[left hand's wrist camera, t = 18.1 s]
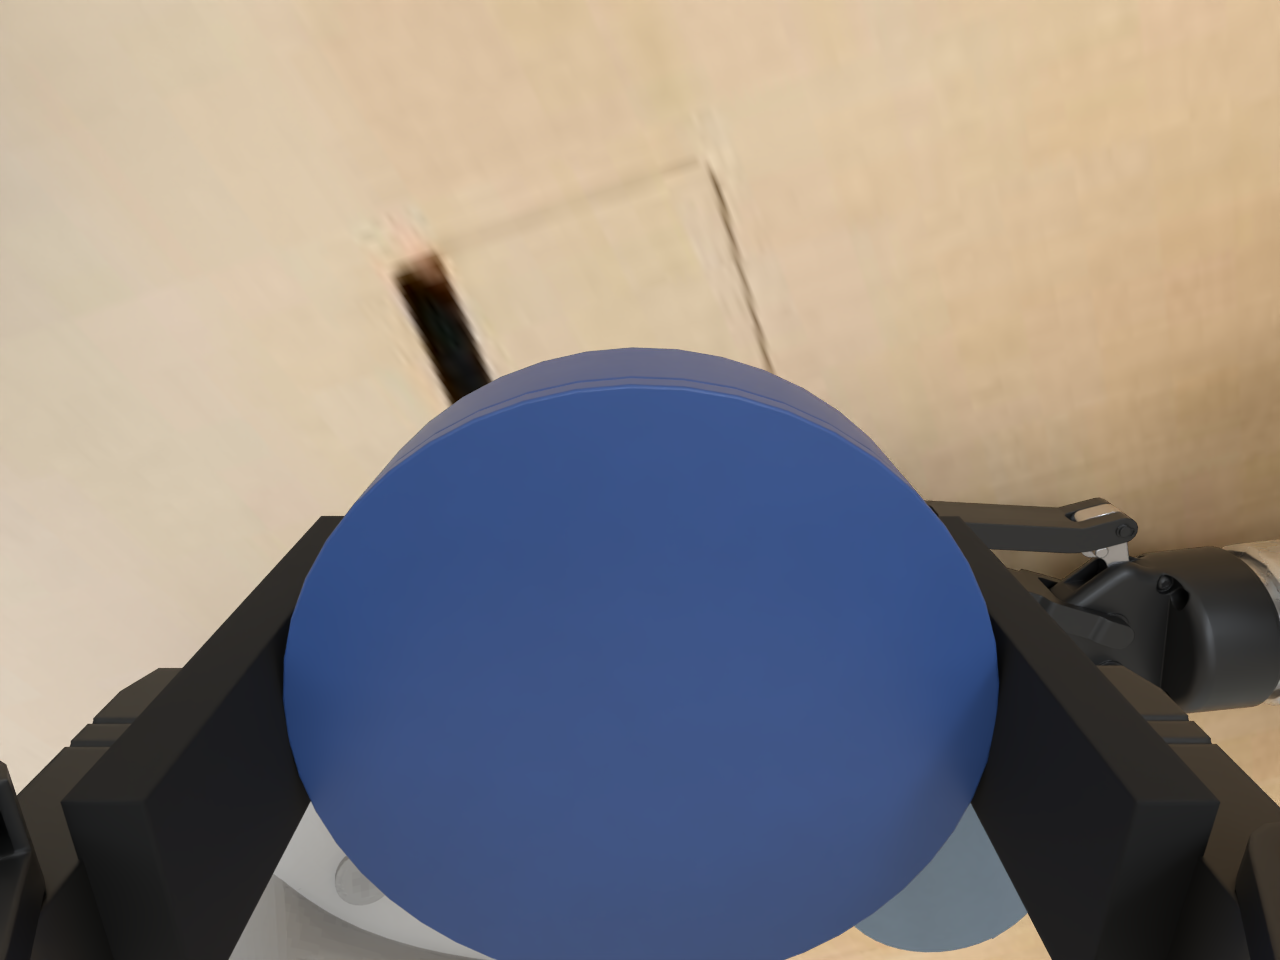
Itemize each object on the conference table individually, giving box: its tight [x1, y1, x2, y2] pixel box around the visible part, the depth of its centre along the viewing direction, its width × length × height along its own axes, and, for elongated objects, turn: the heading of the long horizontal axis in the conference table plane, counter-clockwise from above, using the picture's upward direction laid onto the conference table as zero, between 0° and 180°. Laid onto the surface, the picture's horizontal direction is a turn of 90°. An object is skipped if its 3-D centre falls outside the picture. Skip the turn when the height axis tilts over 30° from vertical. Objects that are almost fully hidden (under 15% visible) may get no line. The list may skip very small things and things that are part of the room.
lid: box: [283, 348, 999, 960], centre depth 11 cm, size 9×9×2 cm
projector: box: [229, 802, 496, 960], centre depth 44 cm, size 22×23×15 cm
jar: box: [855, 803, 1027, 952], centre depth 37 cm, size 8×8×19 cm
